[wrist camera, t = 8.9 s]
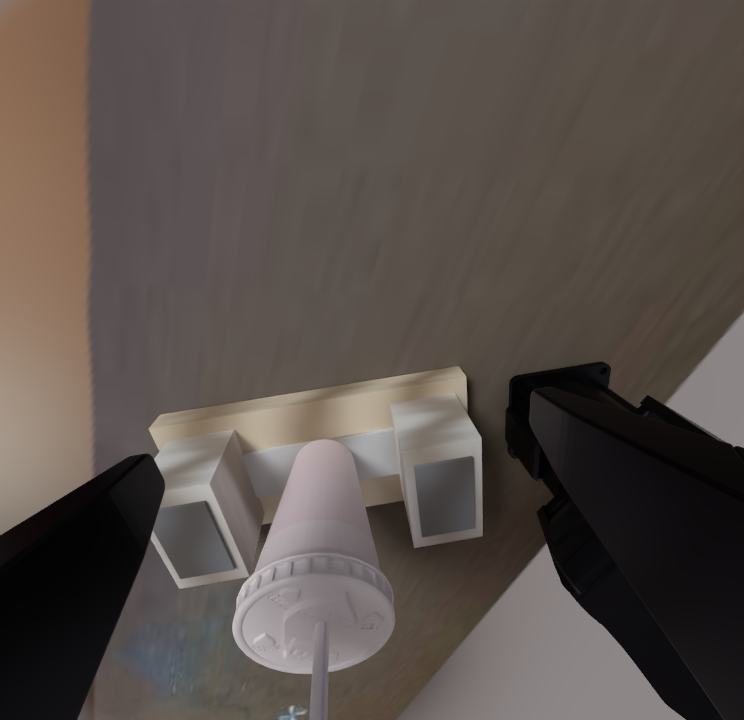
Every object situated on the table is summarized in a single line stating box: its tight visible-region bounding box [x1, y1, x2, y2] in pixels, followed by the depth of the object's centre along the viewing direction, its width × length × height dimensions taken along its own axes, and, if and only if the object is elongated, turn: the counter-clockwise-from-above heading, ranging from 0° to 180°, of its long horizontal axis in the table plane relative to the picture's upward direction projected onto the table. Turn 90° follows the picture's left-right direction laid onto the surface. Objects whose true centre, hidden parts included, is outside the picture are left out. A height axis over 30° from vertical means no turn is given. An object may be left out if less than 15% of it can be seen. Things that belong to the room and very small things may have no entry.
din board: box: [149, 366, 483, 589], centre depth 21 cm, size 19×9×6 cm, turn 98°
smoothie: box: [232, 439, 395, 720], centre depth 16 cm, size 6×6×14 cm
